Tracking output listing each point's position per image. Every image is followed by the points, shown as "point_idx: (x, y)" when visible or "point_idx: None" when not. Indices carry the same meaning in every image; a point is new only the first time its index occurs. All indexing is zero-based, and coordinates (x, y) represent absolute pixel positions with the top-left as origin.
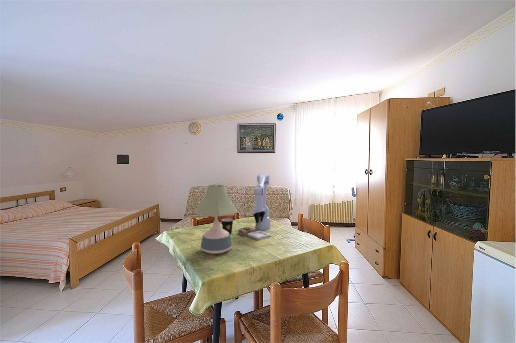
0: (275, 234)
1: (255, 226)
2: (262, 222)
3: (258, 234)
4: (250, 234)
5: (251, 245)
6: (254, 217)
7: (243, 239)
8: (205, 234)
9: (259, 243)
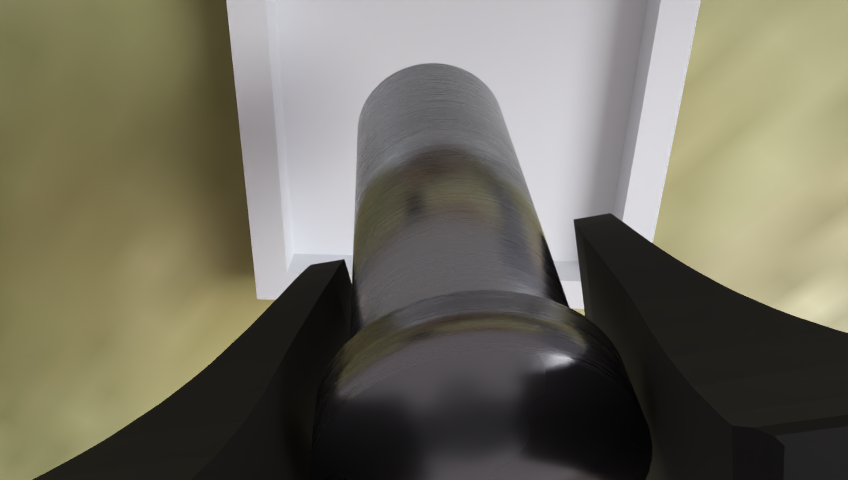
0: (832, 238)
1: (363, 132)
2: None
3: (498, 39)
4: (232, 21)
5: (18, 393)
6: (176, 399)
7: (5, 49)
8: None
9: None
